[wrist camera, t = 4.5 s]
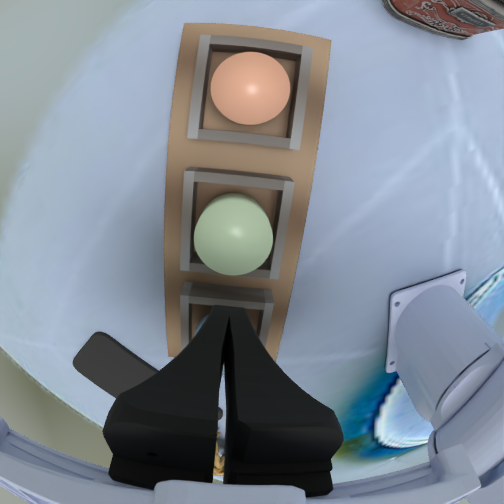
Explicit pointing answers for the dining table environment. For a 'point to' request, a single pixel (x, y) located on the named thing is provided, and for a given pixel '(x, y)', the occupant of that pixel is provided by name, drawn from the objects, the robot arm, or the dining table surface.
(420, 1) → the lighter
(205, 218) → the sage green button
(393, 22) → the dining table surface
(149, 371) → the phone
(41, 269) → the dining table surface
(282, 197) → the button board
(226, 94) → the terracotta button
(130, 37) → the dining table surface
